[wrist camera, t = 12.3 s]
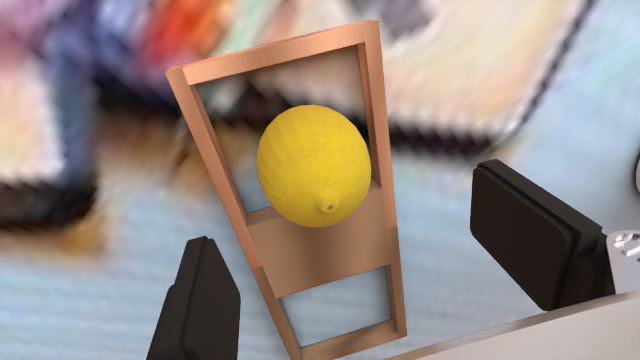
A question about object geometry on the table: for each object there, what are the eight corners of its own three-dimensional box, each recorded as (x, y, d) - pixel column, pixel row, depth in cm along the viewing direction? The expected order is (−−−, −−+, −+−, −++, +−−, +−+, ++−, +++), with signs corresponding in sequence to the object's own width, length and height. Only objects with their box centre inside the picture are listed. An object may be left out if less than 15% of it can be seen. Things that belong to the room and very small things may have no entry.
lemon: (283, 188, 21) (299, 278, 14) (236, 116, 18) (229, 187, 11) (357, 150, 21) (412, 223, 14) (323, 71, 18) (370, 114, 11)
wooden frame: (368, 19, 17) (378, 20, 16) (400, 322, 31) (407, 335, 29) (171, 67, 16) (164, 72, 15) (294, 355, 30) (296, 371, 28)
